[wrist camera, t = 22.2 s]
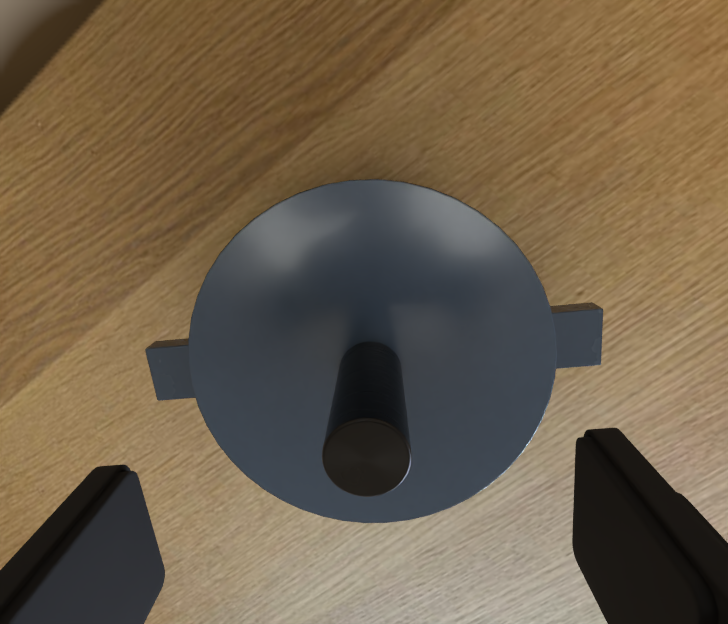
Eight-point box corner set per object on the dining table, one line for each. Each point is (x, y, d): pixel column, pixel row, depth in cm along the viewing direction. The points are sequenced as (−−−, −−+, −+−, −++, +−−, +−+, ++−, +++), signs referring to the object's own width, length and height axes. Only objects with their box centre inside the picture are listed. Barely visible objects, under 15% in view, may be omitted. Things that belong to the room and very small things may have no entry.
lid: (164, 199, 18) (32, 215, 11) (548, 158, 17) (661, 149, 10) (231, 516, 22) (164, 672, 15) (546, 495, 21) (627, 650, 14)
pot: (189, 204, 26) (101, 218, 18) (539, 167, 25) (618, 164, 16) (232, 422, 29) (176, 518, 21) (539, 398, 28) (604, 489, 20)
